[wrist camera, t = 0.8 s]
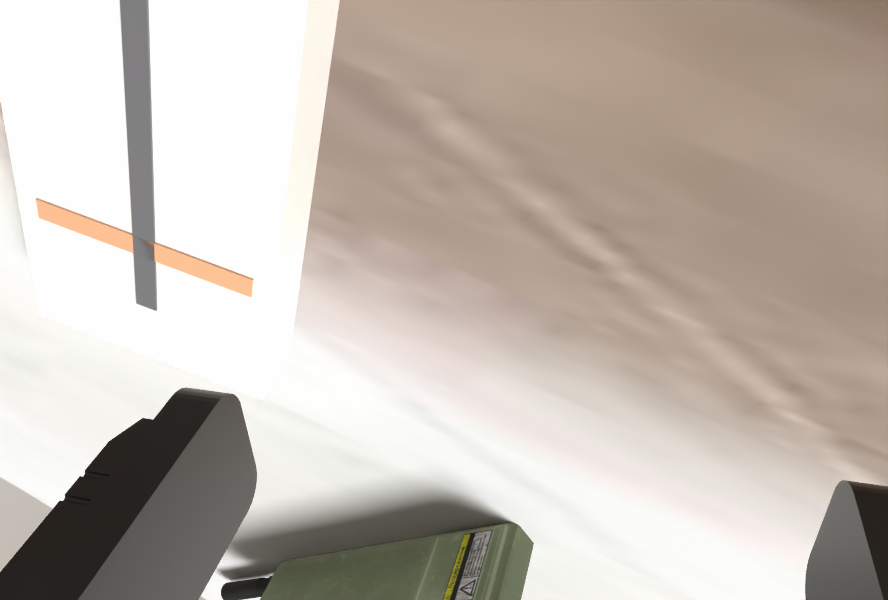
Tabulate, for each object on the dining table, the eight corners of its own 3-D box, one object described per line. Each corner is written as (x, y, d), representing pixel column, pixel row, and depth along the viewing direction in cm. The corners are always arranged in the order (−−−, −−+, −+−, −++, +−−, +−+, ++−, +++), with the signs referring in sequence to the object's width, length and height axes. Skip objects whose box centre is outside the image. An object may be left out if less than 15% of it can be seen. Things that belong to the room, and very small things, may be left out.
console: (-28, -569, 20) (-128, -607, 17) (400, -435, 19) (357, -455, 17) (76, 279, 39) (36, 316, 37) (289, 360, 39) (261, 402, 36)
